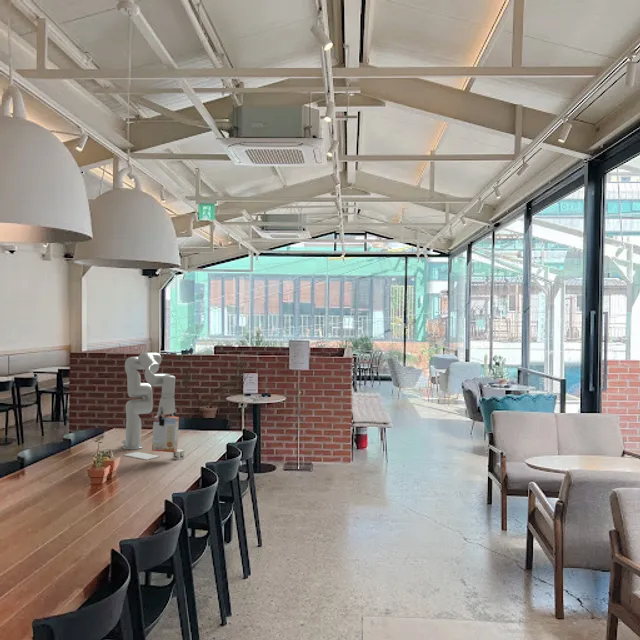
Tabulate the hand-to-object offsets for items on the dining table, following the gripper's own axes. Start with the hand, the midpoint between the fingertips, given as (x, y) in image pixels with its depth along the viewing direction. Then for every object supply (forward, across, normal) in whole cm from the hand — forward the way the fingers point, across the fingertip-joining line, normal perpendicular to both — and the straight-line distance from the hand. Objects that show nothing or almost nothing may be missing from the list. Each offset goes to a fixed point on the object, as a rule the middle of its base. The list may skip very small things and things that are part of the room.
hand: (166, 424), depth 360 cm
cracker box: (+16, 0, 0) cm, 16 cm away
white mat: (+22, 0, -18) cm, 28 cm away
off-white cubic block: (+22, -10, +3) cm, 24 cm away
